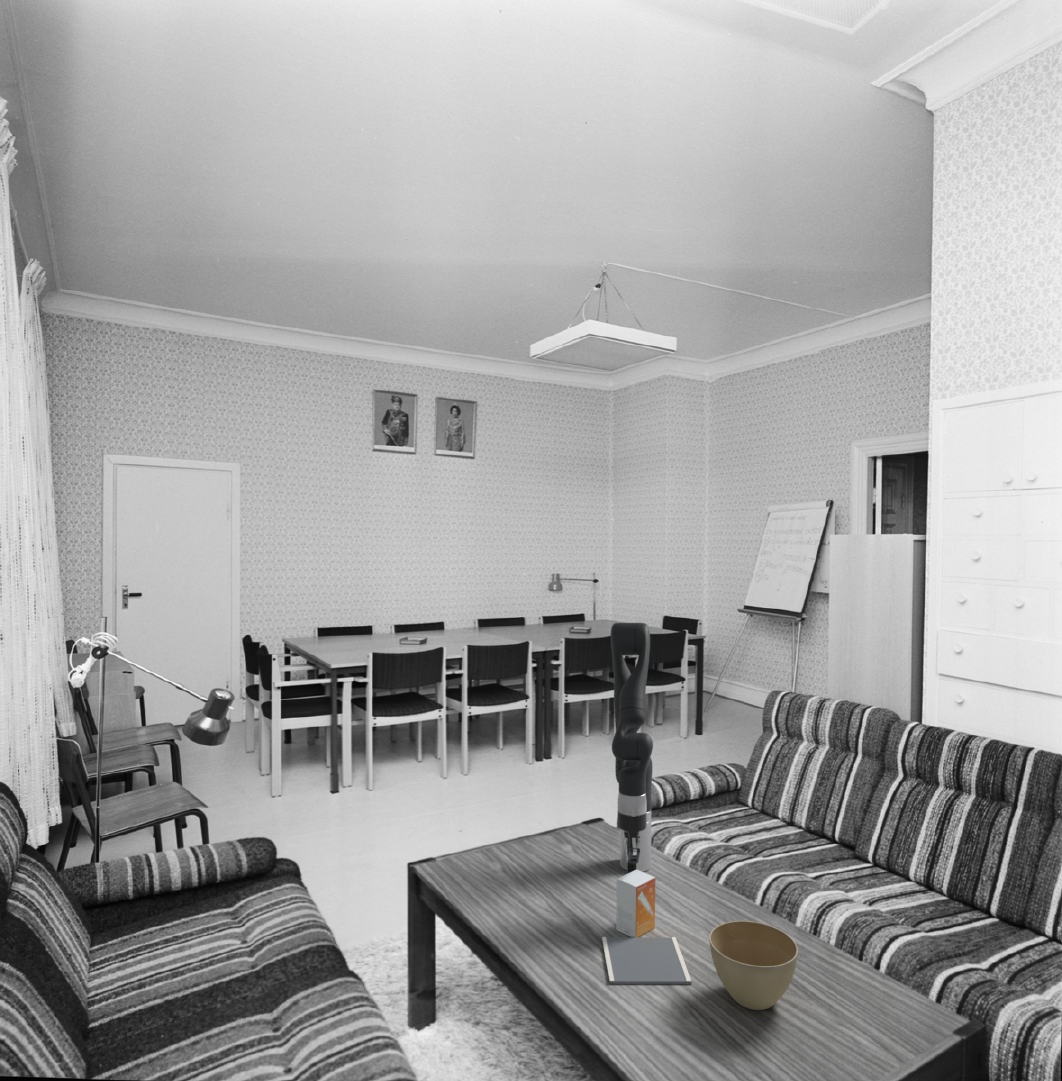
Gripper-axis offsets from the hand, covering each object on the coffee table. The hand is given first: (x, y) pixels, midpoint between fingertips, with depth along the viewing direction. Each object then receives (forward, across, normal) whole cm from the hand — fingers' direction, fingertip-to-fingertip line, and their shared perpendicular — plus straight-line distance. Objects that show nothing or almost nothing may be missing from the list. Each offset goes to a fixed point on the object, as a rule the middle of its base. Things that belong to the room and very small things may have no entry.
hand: (631, 875), depth 196 cm
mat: (+10, +22, 0) cm, 24 cm away
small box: (+10, +8, 0) cm, 13 cm away
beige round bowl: (+10, +36, +21) cm, 43 cm away
